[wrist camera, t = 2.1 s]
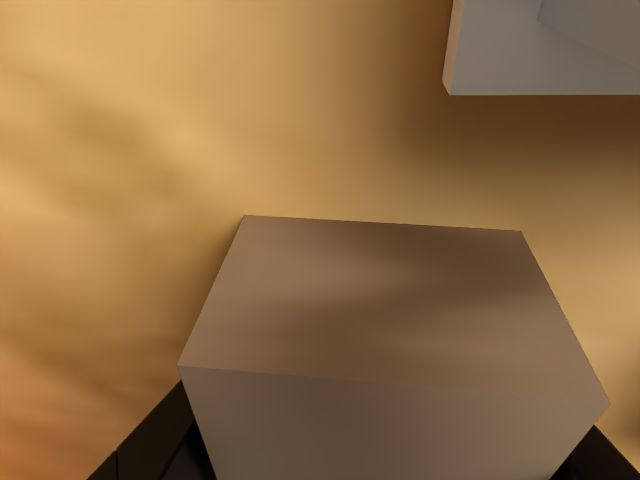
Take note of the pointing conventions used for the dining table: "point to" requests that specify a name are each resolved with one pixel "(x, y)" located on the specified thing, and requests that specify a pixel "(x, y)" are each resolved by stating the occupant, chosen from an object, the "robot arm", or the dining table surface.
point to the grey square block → (543, 47)
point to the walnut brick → (385, 356)
